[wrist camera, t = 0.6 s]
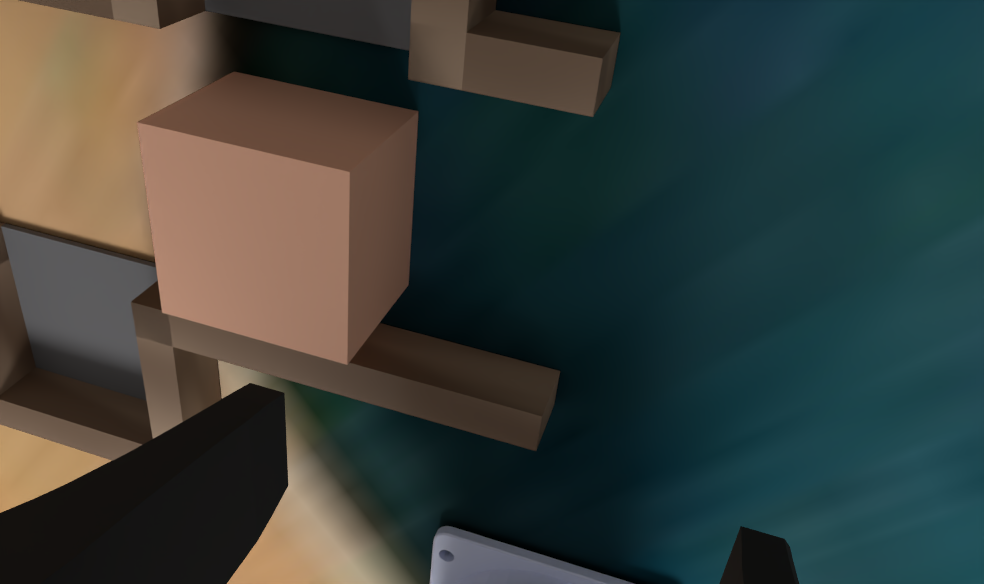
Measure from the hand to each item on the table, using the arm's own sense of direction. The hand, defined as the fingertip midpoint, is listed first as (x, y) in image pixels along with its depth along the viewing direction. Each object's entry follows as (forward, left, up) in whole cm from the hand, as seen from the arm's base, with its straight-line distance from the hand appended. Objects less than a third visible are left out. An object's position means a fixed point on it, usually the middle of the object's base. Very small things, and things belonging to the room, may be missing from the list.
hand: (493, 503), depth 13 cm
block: (0, +8, -10) cm, 12 cm away
